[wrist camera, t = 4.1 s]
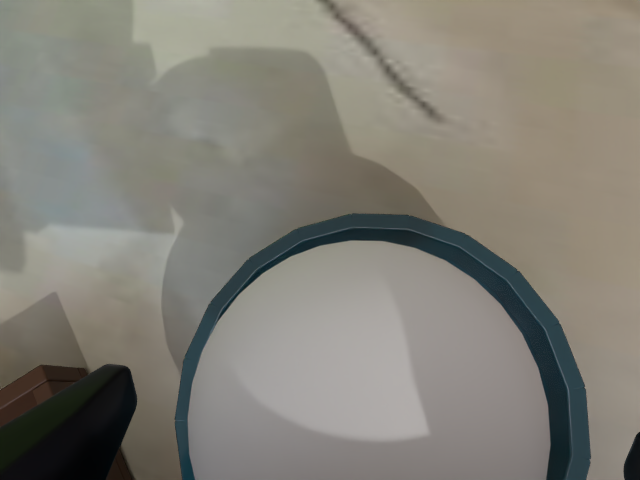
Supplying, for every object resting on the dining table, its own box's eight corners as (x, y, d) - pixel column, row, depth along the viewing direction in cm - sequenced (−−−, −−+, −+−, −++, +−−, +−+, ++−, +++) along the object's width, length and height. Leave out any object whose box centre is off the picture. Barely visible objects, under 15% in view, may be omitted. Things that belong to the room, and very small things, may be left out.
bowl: (624, 465, 15) (690, 485, 12) (321, 672, 15) (302, 752, 11) (416, 191, 19) (422, 148, 15) (165, 350, 18) (115, 340, 15)
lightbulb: (267, 335, 18) (93, 249, 7) (437, 291, 17) (510, 135, 7) (306, 526, 16) (142, 786, 5) (497, 481, 15) (727, 662, 5)
